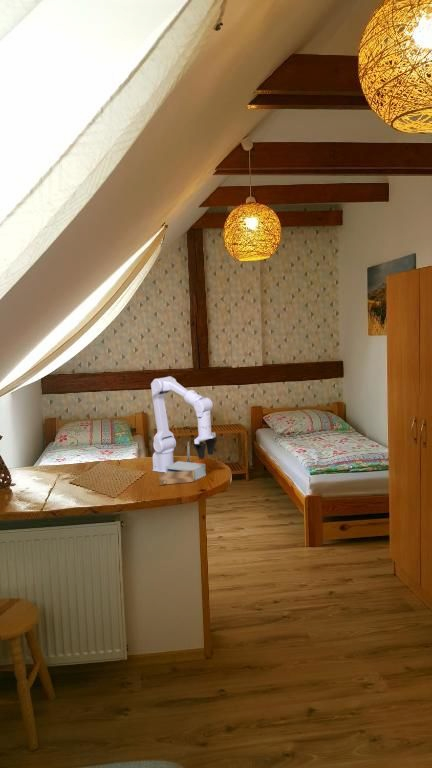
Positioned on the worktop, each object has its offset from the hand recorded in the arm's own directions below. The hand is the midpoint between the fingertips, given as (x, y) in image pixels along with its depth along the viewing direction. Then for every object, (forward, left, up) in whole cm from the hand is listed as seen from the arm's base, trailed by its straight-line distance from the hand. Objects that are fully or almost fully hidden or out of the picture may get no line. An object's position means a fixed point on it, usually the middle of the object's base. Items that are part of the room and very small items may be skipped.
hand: (206, 456), depth 249 cm
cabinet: (-11, -1, -10) cm, 15 cm away
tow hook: (-15, +14, -10) cm, 23 cm away
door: (-8, -12, -10) cm, 17 cm away
